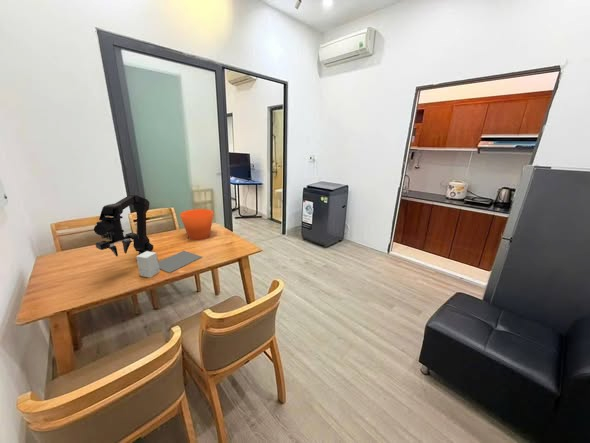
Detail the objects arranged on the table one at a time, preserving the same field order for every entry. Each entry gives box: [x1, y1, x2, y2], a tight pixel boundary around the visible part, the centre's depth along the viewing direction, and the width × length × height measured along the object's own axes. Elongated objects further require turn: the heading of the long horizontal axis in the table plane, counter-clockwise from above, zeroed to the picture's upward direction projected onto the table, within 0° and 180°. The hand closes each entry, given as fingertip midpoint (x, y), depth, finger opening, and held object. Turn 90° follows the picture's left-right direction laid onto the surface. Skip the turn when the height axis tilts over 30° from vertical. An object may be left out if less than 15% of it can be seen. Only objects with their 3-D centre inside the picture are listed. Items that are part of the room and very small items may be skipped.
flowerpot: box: [179, 208, 215, 241], centre depth 192 cm, size 25×25×20 cm
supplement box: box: [136, 251, 161, 279], centre depth 137 cm, size 7×7×13 cm
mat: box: [158, 250, 203, 274], centre depth 154 cm, size 24×18×1 cm
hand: (121, 254), depth 133 cm, fingers open, 4 cm apart
